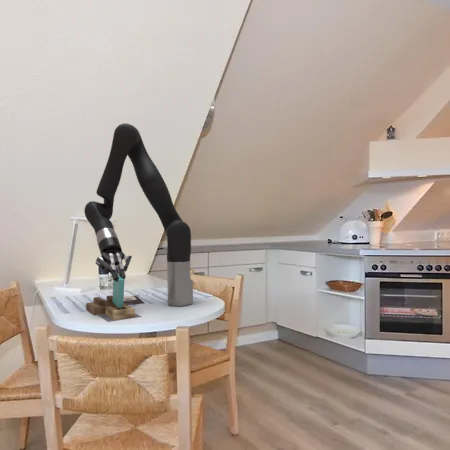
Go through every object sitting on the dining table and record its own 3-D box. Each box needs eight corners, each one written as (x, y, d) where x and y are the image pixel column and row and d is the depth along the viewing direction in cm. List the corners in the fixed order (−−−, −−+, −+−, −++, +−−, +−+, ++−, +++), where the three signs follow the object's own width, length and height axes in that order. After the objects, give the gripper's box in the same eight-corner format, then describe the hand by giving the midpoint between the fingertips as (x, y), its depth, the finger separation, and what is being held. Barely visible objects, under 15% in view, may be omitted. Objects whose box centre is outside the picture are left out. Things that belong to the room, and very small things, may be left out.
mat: (129, 311, 161) (129, 310, 161) (142, 317, 151) (142, 316, 151) (97, 316, 155) (97, 315, 155) (108, 323, 145) (108, 321, 145)
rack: (125, 312, 158) (125, 304, 158) (134, 317, 151) (134, 308, 151) (105, 315, 154) (105, 306, 154) (114, 320, 147) (113, 311, 147)
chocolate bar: (122, 305, 170) (114, 297, 187) (122, 307, 170) (114, 299, 187) (145, 303, 174) (135, 295, 191) (145, 305, 174) (135, 297, 191)
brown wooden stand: (117, 307, 170) (117, 294, 170) (126, 311, 161) (126, 298, 161) (86, 311, 163) (85, 297, 163) (94, 316, 155) (93, 302, 155)
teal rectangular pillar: (117, 301, 157) (118, 274, 155) (123, 307, 152) (124, 279, 150) (112, 301, 156) (113, 275, 154) (118, 307, 151) (119, 280, 149)
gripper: (91, 236, 155) (103, 274, 145) (128, 235, 162) (141, 271, 152) (87, 250, 159) (98, 288, 149) (123, 248, 167) (136, 284, 157)
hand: (120, 279), depth 151 cm, fingers closed on teal rectangular pillar, 1 cm apart
